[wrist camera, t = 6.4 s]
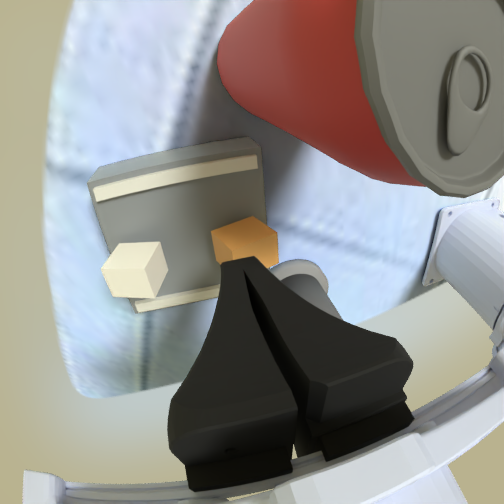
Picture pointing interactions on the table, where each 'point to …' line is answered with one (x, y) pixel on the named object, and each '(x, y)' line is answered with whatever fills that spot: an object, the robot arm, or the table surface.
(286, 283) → the cord spool
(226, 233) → the orange cube
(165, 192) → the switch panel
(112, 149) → the table surface
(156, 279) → the cream cube
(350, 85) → the beer can
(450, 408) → the robot arm
